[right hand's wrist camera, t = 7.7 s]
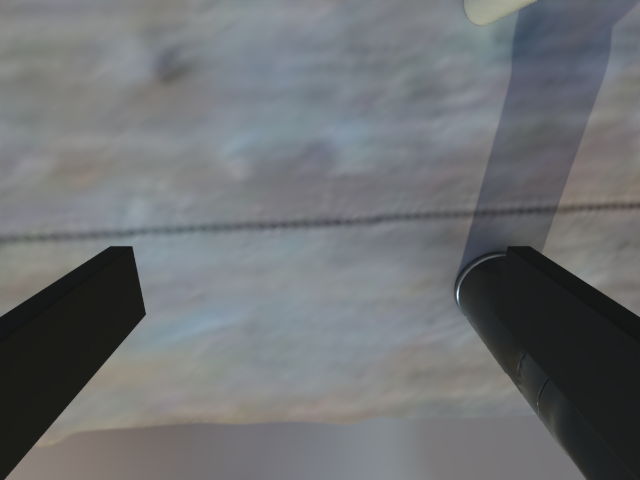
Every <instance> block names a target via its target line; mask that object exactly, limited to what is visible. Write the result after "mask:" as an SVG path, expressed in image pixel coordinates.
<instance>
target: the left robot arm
mask: <svg viewBox="0 0 640 480" xmlns="http://www.w3.org/2000/svg"><path fill="white" fill-rule="evenodd" d="M505 257H506V253H505V252H496V253H490V254H487V255H484V256H481V257H479V258H477V259H475V260H474V261H472V262H471V263H470V264H469V265H467V266H466V268H465V269H464V270H463V271H462V272H461V274H460V275H459V277H458V279H457V282H456V285H455V300H456V303H457V305H458V307H459V308H460V310H461V311H462V312H463V314H464V315H465V316H466V317H467V318H468V319H469V322H470V324H471V325H472V327H473V328H474V329H475V331H476V332H477V334H478V335H479V336H480V338H481V339H482V341H483V342H484V344H485V345H486V346H487V348H488V349H489V351H490V352H491V353H492V355H493V356H494V358H495V359H496V360H497V362H498V363H499V365H500V366H501V367H502V369H503V370H504V372H505V373H506V374H508V375H509V377H510V378H511V380H512V381H513V382H514V384H515V385H516V387H517V388H518V389H519V391H520V392H521V393H522V395H523V396H524V398H525V399H526V400H527V402H528V403H529V405H530V406H531V407H532V409H533V410H534V412H535V413H536V414H537V416H538V417H539V419H540V420H541V421H542V423H543V424H544V426H545V427H546V428H547V430H548V431H549V433H550V434H551V435H552V437H553V438H554V440H555V441H556V443H557V444H558V446H559V447H560V448H561V449H562V451H563V452H564V453H565V454H567V455H568V456H569V457H570V458H571V460H572V461H573V462H574V464H575V465H576V466H577V468H578V469H579V470H580V472H581V473H582V475H583V476H584V477H585V479H586V480H636V479H635V478H634V477H633V476H632V475H631V474H630V472H629V471H628V470H627V469H626V468H625V467H624V465H623V464H622V463H621V462H620V461H619V460H618V458H617V457H616V456H615V455H614V454H613V453H612V451H611V450H610V449H609V448H608V447H607V446H606V444H605V443H604V442H603V441H602V440H601V439H600V437H599V436H598V435H597V434H596V433H595V432H594V430H593V429H592V428H591V427H590V426H589V425H588V423H587V422H586V421H585V420H584V419H583V418H582V416H581V415H580V414H579V413H578V412H577V411H576V409H575V408H574V407H573V406H572V405H571V404H570V402H569V401H568V400H567V399H566V398H565V397H564V395H563V394H562V393H561V392H560V391H559V390H558V388H557V387H556V386H555V385H554V384H553V383H552V381H551V380H550V379H549V378H548V377H547V376H546V374H545V373H544V372H543V371H542V370H541V369H540V367H539V366H538V365H537V364H536V363H535V362H534V360H533V359H532V358H531V357H530V356H529V355H528V353H527V352H526V351H525V350H524V349H523V348H522V346H521V345H520V344H519V343H518V342H517V341H516V339H515V338H514V337H513V336H512V335H511V334H510V332H509V331H508V330H507V329H506V328H505V327H504V325H503V324H502V323H501V322H500V321H499V320H498V319H497V317H496V316H495V315H494V312H495V307H496V302H497V297H498V292H499V287H500V282H501V277H502V272H503V267H504V262H505Z"/></svg>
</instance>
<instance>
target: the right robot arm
mask: <svg viewBox="0 0 640 480" xmlns="http://www.w3.org/2000/svg"><path fill="white" fill-rule="evenodd" d="M145 315H146V312H145V307H144V302H143V297H142V292H141V287H140V282H139V277H138V272H137V267H136V262H135V257H134V252H133V247H132V246H110V247H109V248H107V249H105V250H104V251H102V252H101V253H99V254H98V255H96V256H95V257H93V258H91V259H90V260H88V261H87V262H85V263H84V264H82V265H81V266H79V267H77V268H76V269H74V270H73V271H71V272H70V273H68V274H67V275H65V276H63V277H62V278H60V279H59V280H57V281H56V282H54V283H53V284H51V285H49V286H48V287H46V288H45V289H43V290H42V291H40V292H39V293H37V294H35V295H34V296H32V297H31V298H29V299H28V300H26V301H25V302H23V303H22V304H20V305H18V306H17V307H15V308H14V309H12V310H11V311H9V312H8V313H6V314H4V315H3V316H1V317H0V480H4V479H5V478H6V477H7V476H8V475H9V474H10V472H11V471H12V470H13V469H14V468H15V467H16V465H17V464H18V463H19V462H20V461H21V460H22V458H23V457H24V456H25V455H26V454H27V453H28V451H29V450H30V449H31V448H32V447H33V446H34V444H35V443H36V442H37V441H38V440H39V439H40V437H41V436H42V435H43V434H44V433H45V432H46V430H47V429H48V428H49V427H50V426H51V425H52V423H53V422H54V421H55V420H56V419H57V418H58V416H59V415H60V414H61V413H62V412H63V411H64V409H65V408H66V407H67V406H68V405H69V404H70V402H71V401H72V400H73V399H74V398H75V397H76V395H77V394H78V393H79V392H80V391H81V390H82V388H83V387H84V386H85V385H86V384H87V383H88V381H89V380H90V379H91V378H92V377H93V376H94V374H95V373H96V372H97V371H98V370H99V369H100V367H101V366H102V365H103V364H104V363H105V362H106V360H107V359H108V358H109V357H110V356H111V355H112V353H113V352H114V351H115V350H116V349H117V348H118V346H119V345H120V344H121V343H122V342H123V341H124V339H125V338H126V337H127V336H128V335H129V334H130V332H131V331H132V330H133V329H134V328H135V327H136V325H137V324H138V323H139V322H140V321H141V320H142V319H143V317H144V316H145ZM494 315H495V316H496V317H497V319H498V320H499V321H500V322H501V323H502V324H503V325H504V327H505V328H506V329H507V330H508V331H509V332H510V334H511V335H512V336H513V337H514V338H515V339H516V341H517V342H518V343H519V344H520V345H521V346H522V348H523V349H524V350H525V351H526V352H527V353H528V355H529V356H530V357H531V358H532V359H533V360H534V362H535V363H536V364H537V365H538V366H539V367H540V369H541V370H542V371H543V372H544V373H545V374H546V376H547V377H548V378H549V379H550V380H551V381H552V383H553V384H554V385H555V386H556V387H557V388H558V390H559V391H560V392H561V393H562V394H563V395H564V397H565V398H566V399H567V400H568V401H569V402H570V404H571V405H572V406H573V407H574V408H575V409H576V411H577V412H578V413H579V414H580V415H581V416H582V418H583V419H584V420H585V421H586V422H587V423H588V425H589V426H590V427H591V428H592V429H593V430H594V432H595V433H596V434H597V435H598V436H599V437H600V439H601V440H602V441H603V442H604V443H605V444H606V446H607V447H608V448H609V449H610V450H611V451H612V453H613V454H614V455H615V456H616V457H617V458H618V460H619V461H620V462H621V463H622V464H623V465H624V467H625V468H626V469H627V470H628V471H629V472H630V474H631V475H632V476H633V477H634V478H635V479H636V480H640V317H639V316H637V315H636V314H634V313H632V312H631V311H629V310H628V309H626V308H625V307H623V306H622V305H620V304H618V303H617V302H615V301H614V300H612V299H611V298H609V297H608V296H606V295H605V294H603V293H601V292H600V291H598V290H597V289H595V288H594V287H592V286H591V285H589V284H587V283H586V282H584V281H583V280H581V279H580V278H578V277H577V276H575V275H573V274H572V273H570V272H569V271H567V270H566V269H564V268H563V267H561V266H559V265H558V264H556V263H555V262H553V261H552V260H550V259H549V258H547V257H545V256H544V255H542V254H541V253H539V252H538V251H536V250H535V249H533V248H531V247H530V246H508V247H507V252H506V257H505V262H504V267H503V272H502V277H501V282H500V287H499V292H498V297H497V302H496V307H495V312H494Z"/></svg>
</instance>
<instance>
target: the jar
mask: <svg viewBox="0 0 640 480" xmlns="http://www.w3.org/2000/svg"><path fill="white" fill-rule="evenodd" d="M537 1H539V0H464V10H465V13H466V15H467V17H468V18H469V19H470V20H471V21H472V22H473V23H475V24H478V25H489V24H492V23H494V22H496V21H498V20H500V19H502V18H504V17H506V16H508V15H510V14H512V13H514V12H516V11H518V10H520V9H523V8H525V7H527V6H529V5H531V4H533V3H535V2H537Z"/></svg>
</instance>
